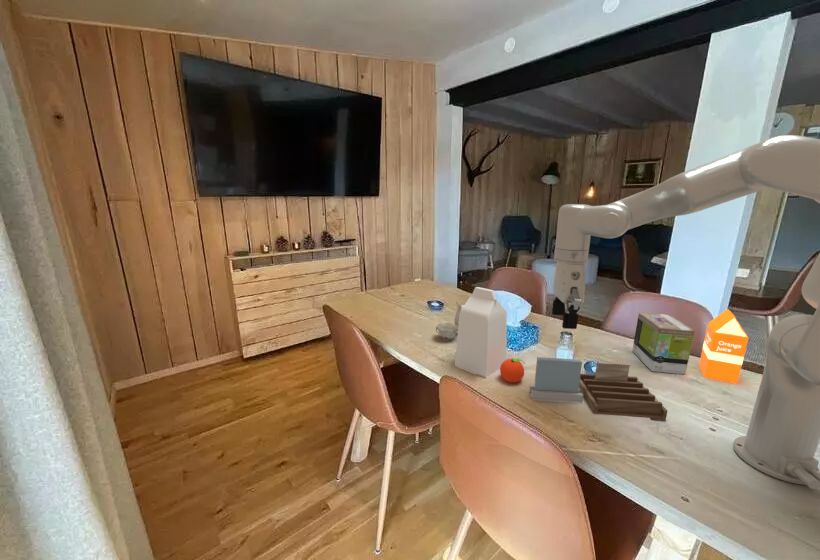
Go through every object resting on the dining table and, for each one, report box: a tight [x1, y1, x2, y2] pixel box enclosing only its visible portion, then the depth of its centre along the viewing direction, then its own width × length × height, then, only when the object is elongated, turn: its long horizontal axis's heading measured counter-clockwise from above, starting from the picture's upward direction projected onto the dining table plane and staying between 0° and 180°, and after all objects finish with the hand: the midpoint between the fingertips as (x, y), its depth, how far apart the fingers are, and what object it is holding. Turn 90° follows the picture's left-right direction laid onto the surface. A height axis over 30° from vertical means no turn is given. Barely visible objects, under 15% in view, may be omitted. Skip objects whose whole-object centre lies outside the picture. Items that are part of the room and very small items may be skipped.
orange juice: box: [698, 308, 749, 384], centre depth 104 cm, size 8×9×20 cm
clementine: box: [499, 358, 526, 384], centre depth 103 cm, size 8×7×7 cm
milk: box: [454, 286, 508, 378], centre depth 109 cm, size 12×12×26 cm
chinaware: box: [435, 301, 511, 344], centre depth 131 cm, size 28×17×17 cm, turn 77°
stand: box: [528, 384, 584, 405], centre depth 94 cm, size 5×13×3 cm, turn 82°
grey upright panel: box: [533, 356, 583, 393], centre depth 93 cm, size 1×11×11 cm, turn 82°
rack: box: [579, 360, 668, 422], centre depth 92 cm, size 14×17×9 cm
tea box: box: [632, 312, 695, 375], centre depth 113 cm, size 15×10×15 cm
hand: (563, 321), depth 89 cm, fingers open, 9 cm apart
